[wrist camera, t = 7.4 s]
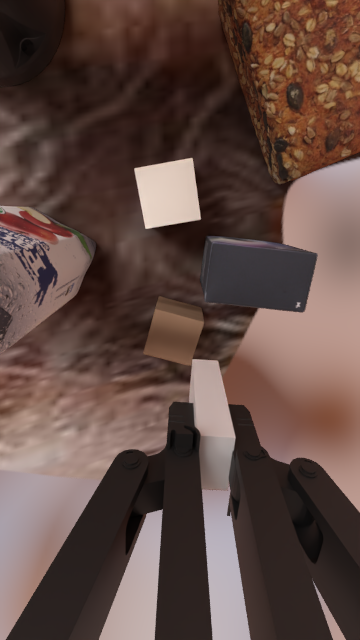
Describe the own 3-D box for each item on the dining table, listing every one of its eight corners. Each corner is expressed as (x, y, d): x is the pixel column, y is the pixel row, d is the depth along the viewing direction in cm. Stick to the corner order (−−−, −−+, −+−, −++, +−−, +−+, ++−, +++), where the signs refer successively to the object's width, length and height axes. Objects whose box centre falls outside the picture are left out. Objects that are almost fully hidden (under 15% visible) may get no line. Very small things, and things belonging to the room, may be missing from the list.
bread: (353, 151, 37) (411, 131, 28) (265, 190, 38) (292, 183, 29) (310, -42, 31) (364, -151, 22) (210, 11, 33) (220, -69, 23)
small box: (287, 241, 40) (322, 251, 30) (277, 291, 42) (306, 315, 32) (205, 232, 40) (212, 239, 30) (198, 283, 42) (203, 305, 32)
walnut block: (158, 295, 43) (155, 308, 37) (201, 307, 43) (204, 322, 38) (148, 335, 45) (143, 353, 39) (189, 346, 45) (190, 365, 39)
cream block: (141, 174, 38) (134, 168, 32) (191, 165, 38) (192, 157, 32) (151, 226, 40) (145, 228, 34) (198, 218, 39) (200, 219, 34)
